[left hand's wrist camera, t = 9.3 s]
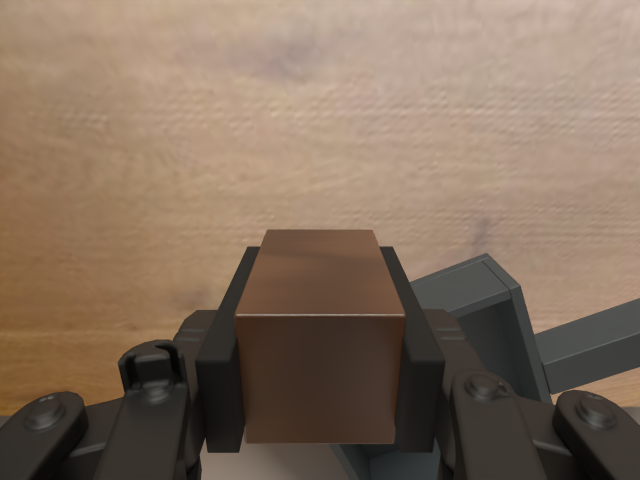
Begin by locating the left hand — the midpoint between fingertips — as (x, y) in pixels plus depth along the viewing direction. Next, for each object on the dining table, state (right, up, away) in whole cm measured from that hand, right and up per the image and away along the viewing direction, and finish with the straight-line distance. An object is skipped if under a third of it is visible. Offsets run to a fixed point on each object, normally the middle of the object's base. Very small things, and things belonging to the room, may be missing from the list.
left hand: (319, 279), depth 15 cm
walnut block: (0, 0, 0) cm, 0 cm away
